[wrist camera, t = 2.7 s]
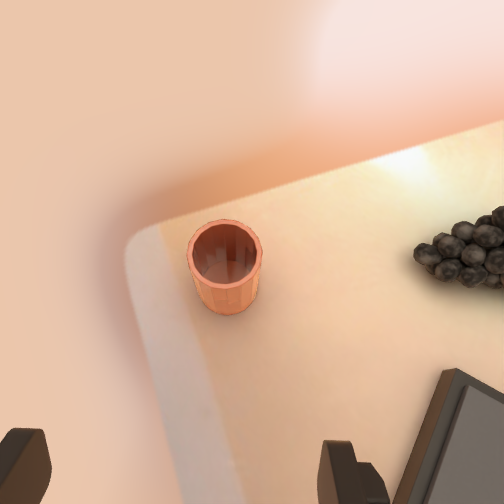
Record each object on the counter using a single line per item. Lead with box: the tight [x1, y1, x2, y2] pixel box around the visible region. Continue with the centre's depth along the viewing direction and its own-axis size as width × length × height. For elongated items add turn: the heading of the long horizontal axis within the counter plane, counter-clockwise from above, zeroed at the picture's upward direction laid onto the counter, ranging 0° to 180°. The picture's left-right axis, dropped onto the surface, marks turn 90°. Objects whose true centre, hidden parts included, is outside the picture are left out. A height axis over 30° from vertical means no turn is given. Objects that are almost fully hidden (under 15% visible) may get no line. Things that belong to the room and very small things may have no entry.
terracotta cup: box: [187, 219, 262, 315], centre depth 32 cm, size 5×5×8 cm
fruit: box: [413, 206, 504, 289], centre depth 34 cm, size 9×8×15 cm
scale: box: [392, 368, 504, 504], centre depth 30 cm, size 13×13×3 cm
